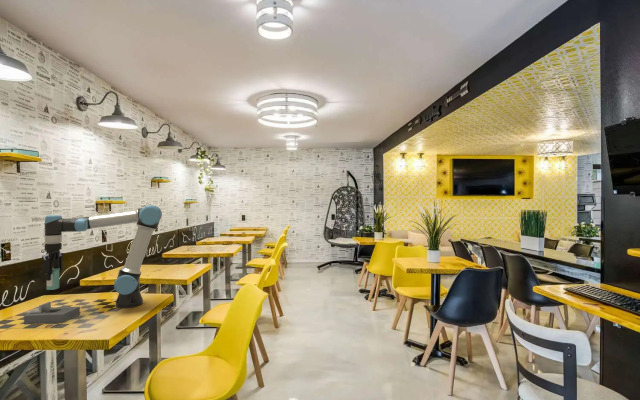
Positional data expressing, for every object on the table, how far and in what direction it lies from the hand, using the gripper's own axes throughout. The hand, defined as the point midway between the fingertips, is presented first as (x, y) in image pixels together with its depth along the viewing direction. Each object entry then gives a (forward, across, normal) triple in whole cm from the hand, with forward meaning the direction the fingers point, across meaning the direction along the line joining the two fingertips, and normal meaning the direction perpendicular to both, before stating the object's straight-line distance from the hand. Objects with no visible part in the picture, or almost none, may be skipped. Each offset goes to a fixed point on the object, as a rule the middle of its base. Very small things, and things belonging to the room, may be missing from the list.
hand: (53, 285), depth 191 cm
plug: (+2, 0, 0) cm, 2 cm away
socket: (+19, 0, 0) cm, 19 cm away
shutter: (+14, 0, -7) cm, 16 cm away
